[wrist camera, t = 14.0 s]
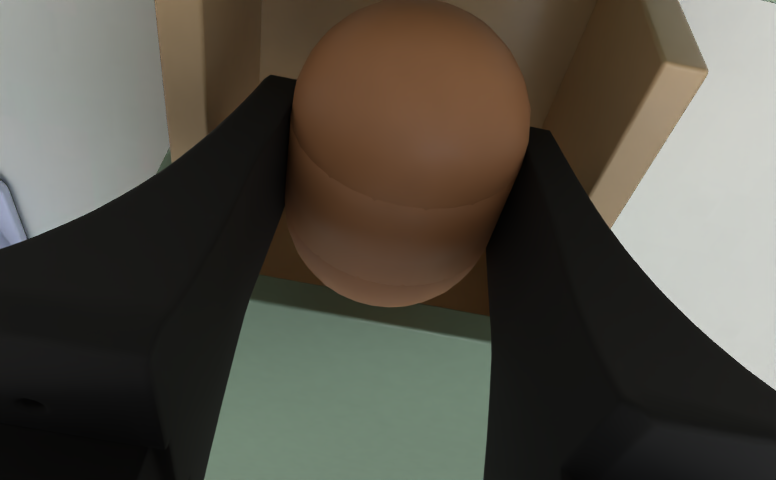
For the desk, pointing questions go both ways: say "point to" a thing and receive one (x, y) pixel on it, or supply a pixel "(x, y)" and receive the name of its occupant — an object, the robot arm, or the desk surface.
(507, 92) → the egg
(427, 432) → the cabinet
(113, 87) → the desk surface
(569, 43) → the drawer
